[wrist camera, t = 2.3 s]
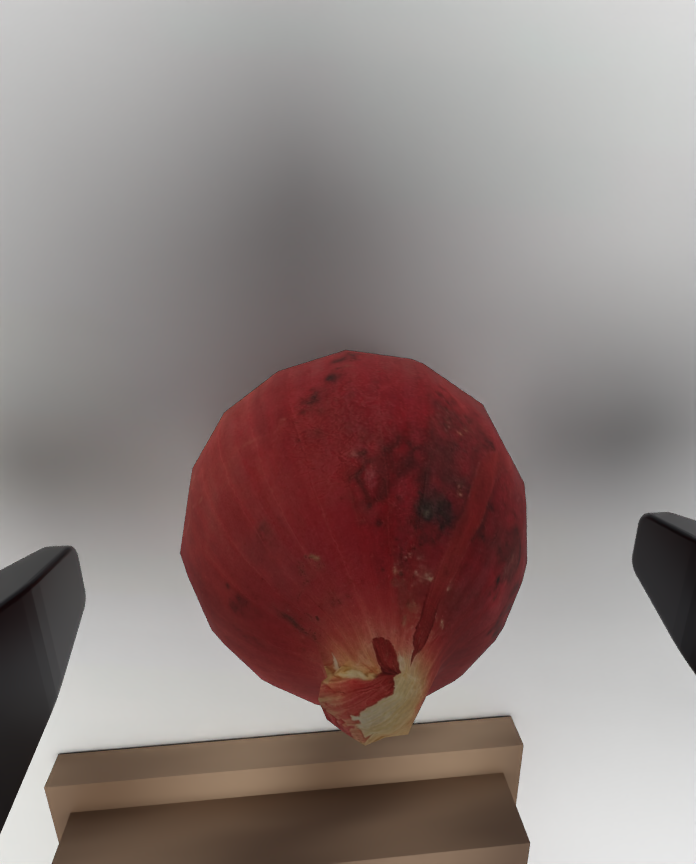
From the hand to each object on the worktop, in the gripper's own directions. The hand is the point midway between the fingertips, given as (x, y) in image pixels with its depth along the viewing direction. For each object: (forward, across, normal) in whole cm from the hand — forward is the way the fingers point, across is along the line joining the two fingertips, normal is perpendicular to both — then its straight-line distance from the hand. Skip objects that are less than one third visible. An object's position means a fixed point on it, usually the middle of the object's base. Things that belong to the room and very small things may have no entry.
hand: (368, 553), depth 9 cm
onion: (+5, 0, 0) cm, 5 cm away
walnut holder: (+5, +2, +16) cm, 17 cm away
